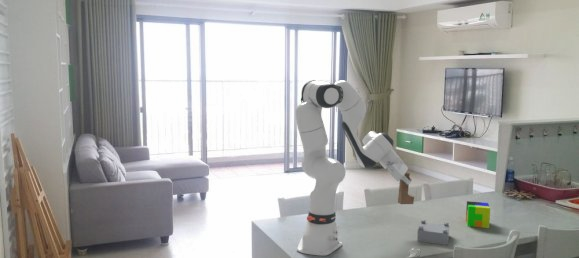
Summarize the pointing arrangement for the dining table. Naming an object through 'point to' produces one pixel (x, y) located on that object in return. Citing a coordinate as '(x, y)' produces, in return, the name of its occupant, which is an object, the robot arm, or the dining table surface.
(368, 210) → the dining table surface
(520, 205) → the dining table surface
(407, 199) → the wooden block
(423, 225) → the base brick
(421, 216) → the dining table surface
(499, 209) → the dining table surface
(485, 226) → the puzzle toy
